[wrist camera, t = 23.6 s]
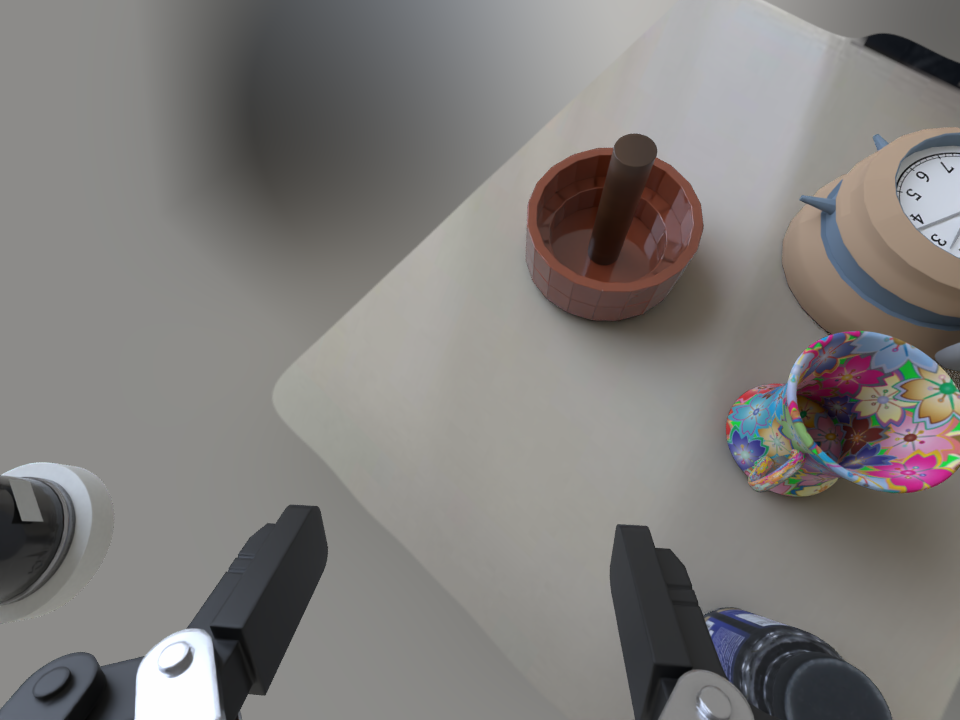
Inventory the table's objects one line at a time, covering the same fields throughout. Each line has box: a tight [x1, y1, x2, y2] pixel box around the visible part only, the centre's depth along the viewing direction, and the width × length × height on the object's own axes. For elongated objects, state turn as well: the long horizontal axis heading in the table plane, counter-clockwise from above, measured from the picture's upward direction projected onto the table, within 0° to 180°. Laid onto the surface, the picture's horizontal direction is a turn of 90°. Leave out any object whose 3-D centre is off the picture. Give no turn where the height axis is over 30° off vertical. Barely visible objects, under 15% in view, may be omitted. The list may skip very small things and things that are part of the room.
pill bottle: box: [703, 608, 892, 720], centre depth 26 cm, size 6×6×11 cm
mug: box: [726, 331, 960, 497], centre depth 31 cm, size 12×9×11 cm
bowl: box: [526, 148, 703, 321], centre depth 40 cm, size 14×14×6 cm
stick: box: [588, 134, 657, 265], centre depth 36 cm, size 3×3×12 cm
